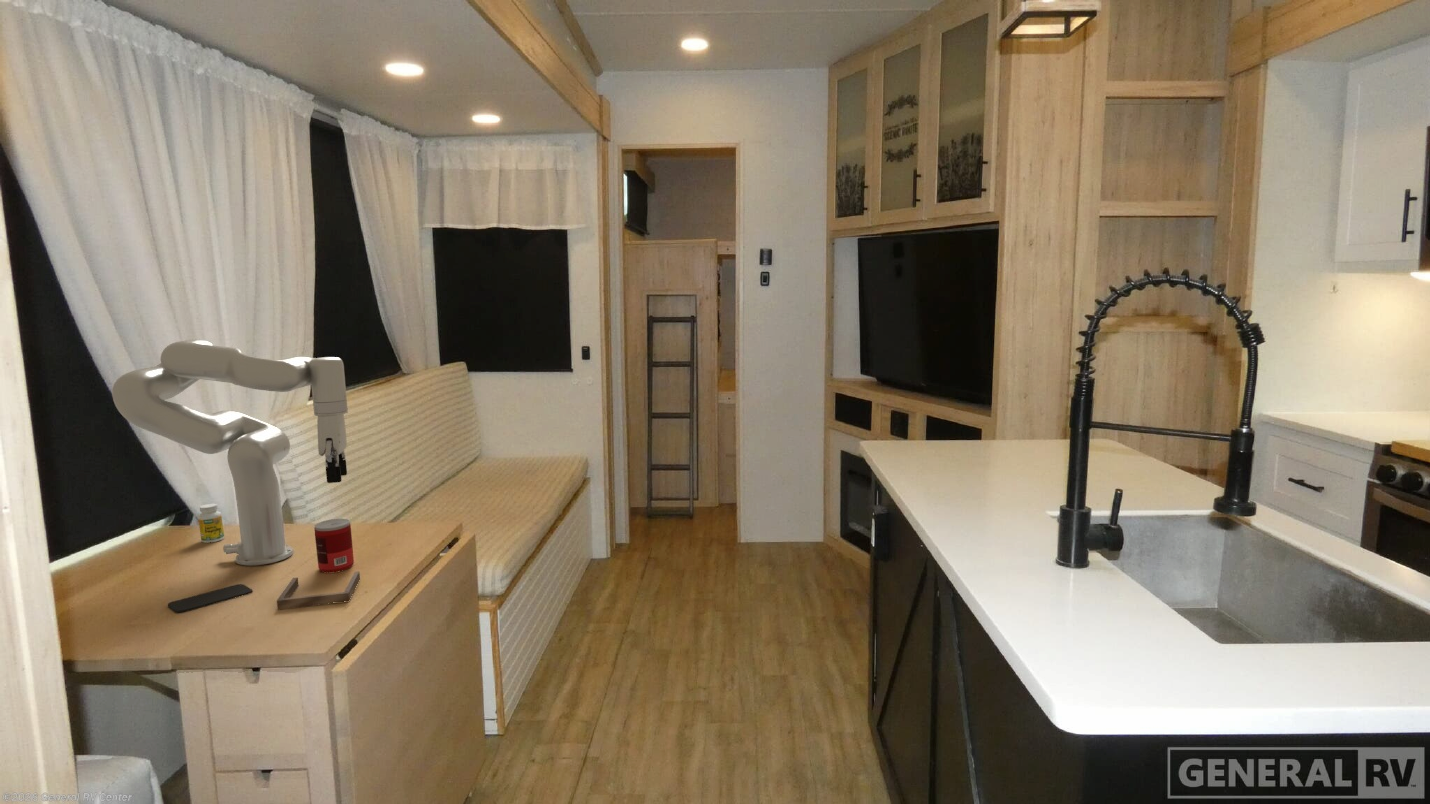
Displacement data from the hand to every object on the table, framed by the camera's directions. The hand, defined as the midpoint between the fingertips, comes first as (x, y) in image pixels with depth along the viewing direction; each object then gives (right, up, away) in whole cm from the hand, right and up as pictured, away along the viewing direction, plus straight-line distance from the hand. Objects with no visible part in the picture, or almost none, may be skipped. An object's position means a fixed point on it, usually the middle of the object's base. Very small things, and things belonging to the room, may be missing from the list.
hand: (337, 478), depth 203 cm
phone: (-16, -25, -24) cm, 38 cm away
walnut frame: (+7, -23, -23) cm, 34 cm away
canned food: (+3, -21, -6) cm, 22 cm away
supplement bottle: (-41, -18, +16) cm, 48 cm away
